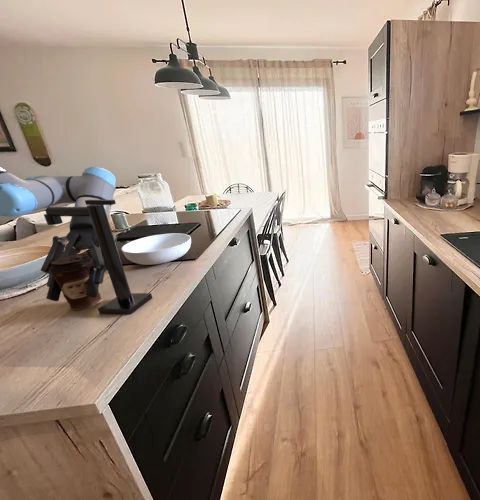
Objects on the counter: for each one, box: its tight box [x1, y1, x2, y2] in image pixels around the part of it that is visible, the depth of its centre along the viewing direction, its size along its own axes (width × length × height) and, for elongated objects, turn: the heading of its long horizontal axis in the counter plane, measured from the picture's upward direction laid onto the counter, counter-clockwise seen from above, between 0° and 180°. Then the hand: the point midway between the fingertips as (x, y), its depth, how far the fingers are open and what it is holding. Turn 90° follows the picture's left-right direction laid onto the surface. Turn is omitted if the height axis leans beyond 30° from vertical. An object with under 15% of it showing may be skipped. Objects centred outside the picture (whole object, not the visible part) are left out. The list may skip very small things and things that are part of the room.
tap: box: [43, 199, 153, 315], centre depth 70 cm, size 17×8×28 cm, turn 88°
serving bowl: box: [120, 232, 192, 266], centre depth 103 cm, size 21×21×7 cm
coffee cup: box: [49, 253, 103, 311], centre depth 73 cm, size 9×8×13 cm
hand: (72, 297), depth 70 cm, fingers closed on coffee cup, 7 cm apart
